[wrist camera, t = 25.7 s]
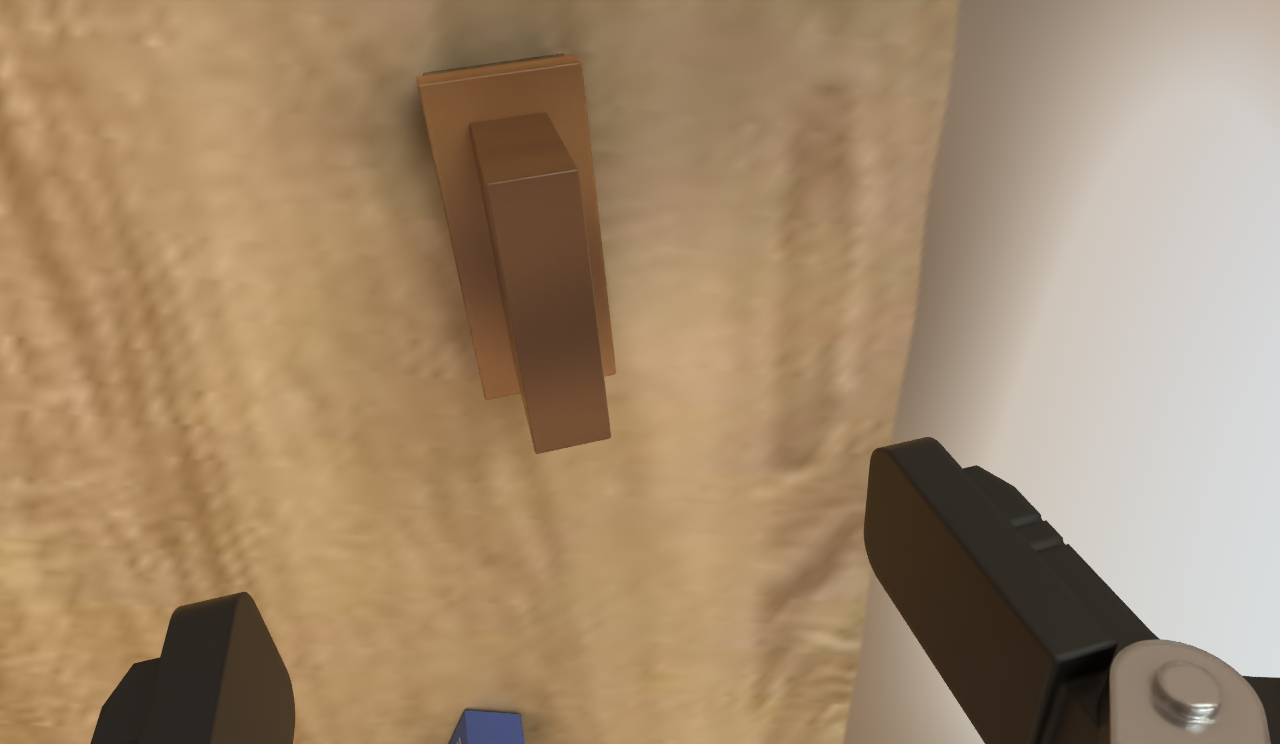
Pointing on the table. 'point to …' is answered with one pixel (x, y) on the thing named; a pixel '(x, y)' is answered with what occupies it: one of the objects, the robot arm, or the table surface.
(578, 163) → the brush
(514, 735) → the walkman
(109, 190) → the table surface
